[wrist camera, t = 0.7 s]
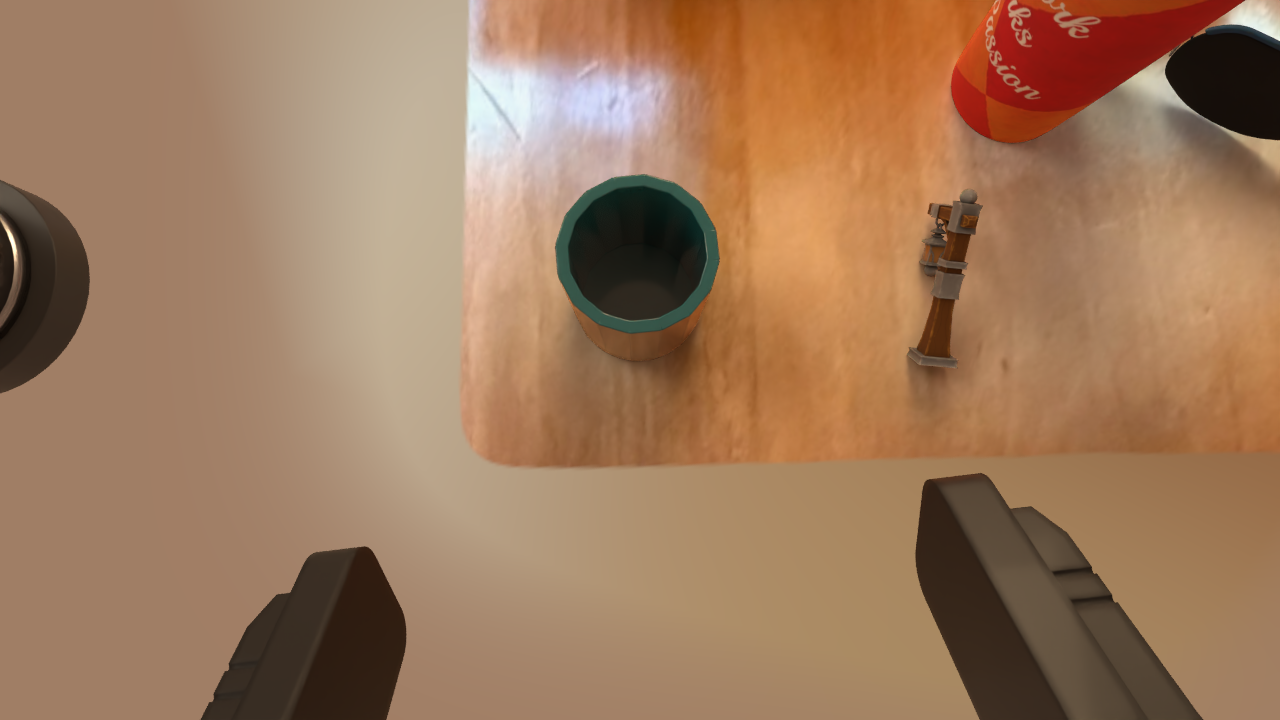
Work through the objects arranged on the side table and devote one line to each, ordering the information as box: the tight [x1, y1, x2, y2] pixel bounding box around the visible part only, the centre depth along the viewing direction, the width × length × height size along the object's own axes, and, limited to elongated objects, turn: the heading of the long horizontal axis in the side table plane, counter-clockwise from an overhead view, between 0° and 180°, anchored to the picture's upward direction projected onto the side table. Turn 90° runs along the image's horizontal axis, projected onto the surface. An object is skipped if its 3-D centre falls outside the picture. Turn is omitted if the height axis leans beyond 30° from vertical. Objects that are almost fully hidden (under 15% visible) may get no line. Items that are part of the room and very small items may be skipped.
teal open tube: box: [555, 174, 720, 361], centre depth 31 cm, size 6×6×8 cm
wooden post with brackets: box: [907, 189, 983, 368], centre depth 33 cm, size 2×8×4 cm, turn 175°
